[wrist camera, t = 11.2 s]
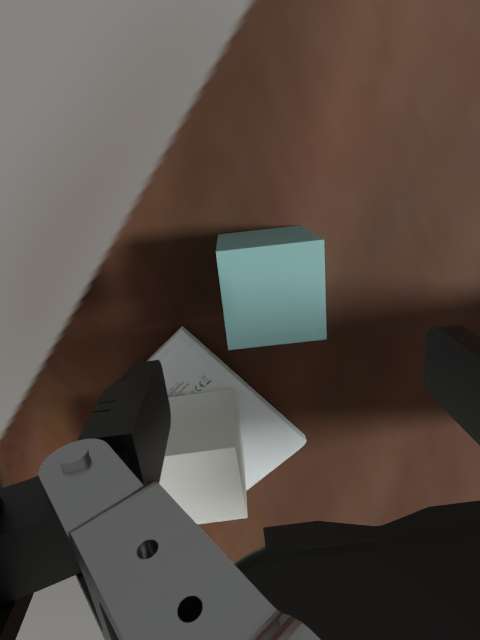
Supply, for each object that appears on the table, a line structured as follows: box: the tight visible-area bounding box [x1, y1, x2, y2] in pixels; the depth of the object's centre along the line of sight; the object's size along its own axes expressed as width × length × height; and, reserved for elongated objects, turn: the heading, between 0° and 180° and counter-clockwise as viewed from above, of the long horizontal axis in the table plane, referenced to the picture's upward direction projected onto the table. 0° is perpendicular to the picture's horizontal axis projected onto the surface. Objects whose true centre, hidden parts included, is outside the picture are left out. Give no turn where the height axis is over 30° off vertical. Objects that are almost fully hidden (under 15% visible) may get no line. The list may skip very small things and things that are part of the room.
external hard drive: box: [147, 326, 306, 491], centre depth 27 cm, size 2×8×12 cm
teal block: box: [216, 225, 327, 350], centre depth 21 cm, size 5×5×6 cm
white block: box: [159, 389, 248, 524], centre depth 24 cm, size 5×5×6 cm
